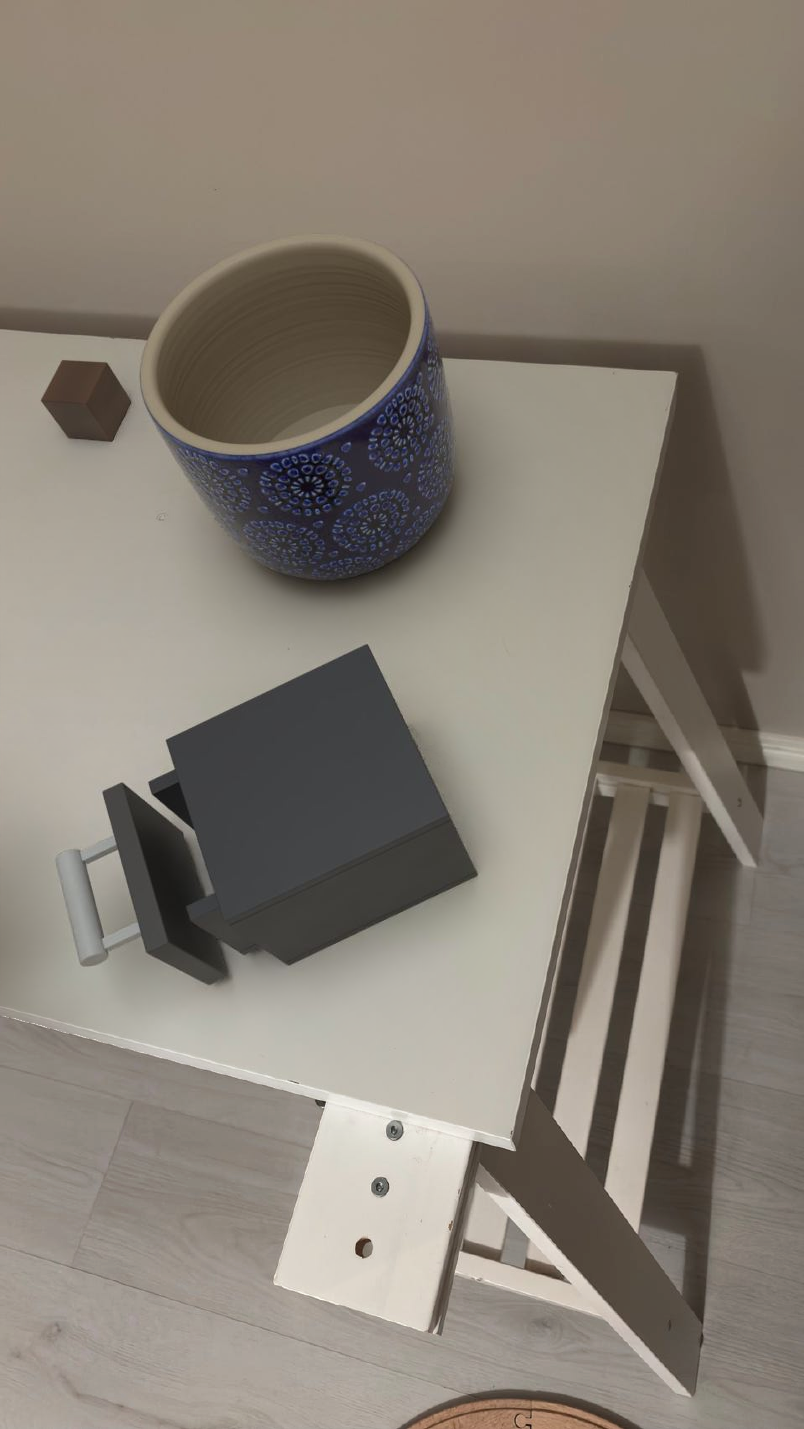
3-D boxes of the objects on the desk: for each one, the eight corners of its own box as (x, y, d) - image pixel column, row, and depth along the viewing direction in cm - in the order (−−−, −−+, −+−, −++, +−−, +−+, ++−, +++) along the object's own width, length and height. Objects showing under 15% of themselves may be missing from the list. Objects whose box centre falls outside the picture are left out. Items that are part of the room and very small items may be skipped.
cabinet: (287, 966, 53) (223, 922, 45) (231, 805, 58) (164, 739, 50) (478, 875, 53) (448, 814, 45) (405, 722, 58) (367, 643, 50)
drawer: (143, 1017, 53) (70, 989, 46) (103, 868, 57) (32, 823, 51) (383, 902, 53) (346, 858, 46) (325, 763, 57) (283, 703, 51)
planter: (484, 407, 68) (447, 217, 55) (454, 613, 61) (403, 452, 48) (260, 415, 72) (176, 241, 59) (208, 609, 65) (100, 460, 52)
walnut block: (67, 438, 75) (39, 400, 72) (88, 398, 77) (61, 359, 73) (112, 441, 74) (86, 403, 71) (132, 401, 76) (107, 361, 72)
